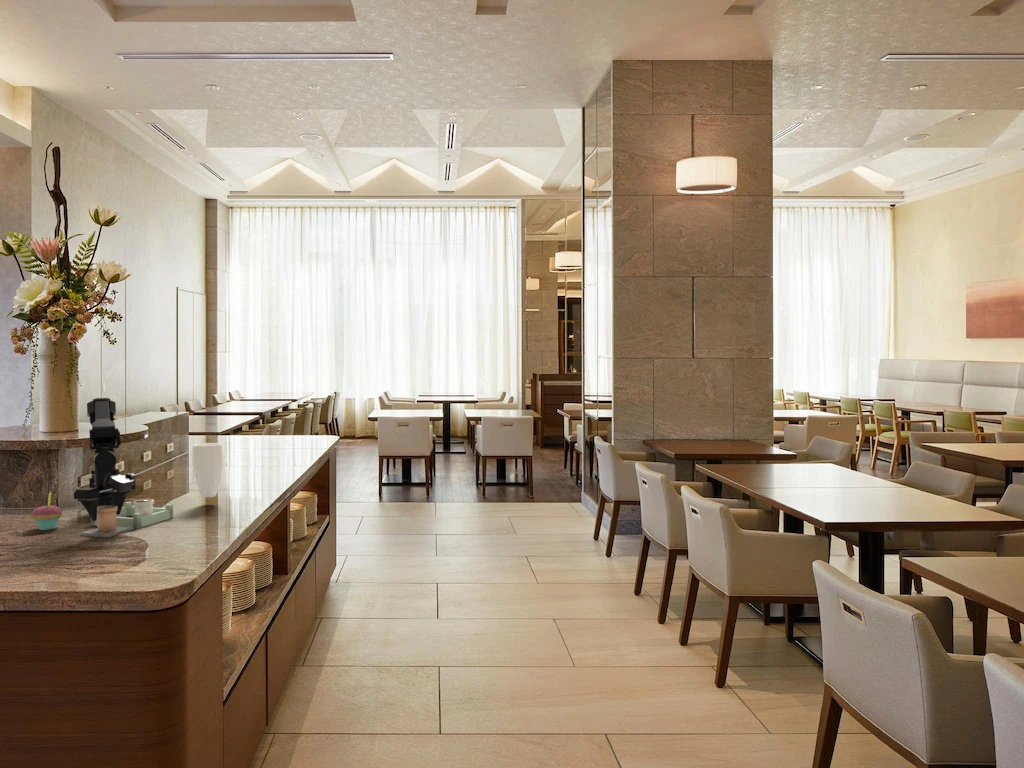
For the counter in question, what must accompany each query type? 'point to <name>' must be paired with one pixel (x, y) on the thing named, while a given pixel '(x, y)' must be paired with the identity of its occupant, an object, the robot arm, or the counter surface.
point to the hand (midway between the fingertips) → (106, 517)
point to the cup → (207, 467)
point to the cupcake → (46, 516)
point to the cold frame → (137, 520)
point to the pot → (144, 506)
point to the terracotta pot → (106, 518)
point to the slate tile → (106, 534)
